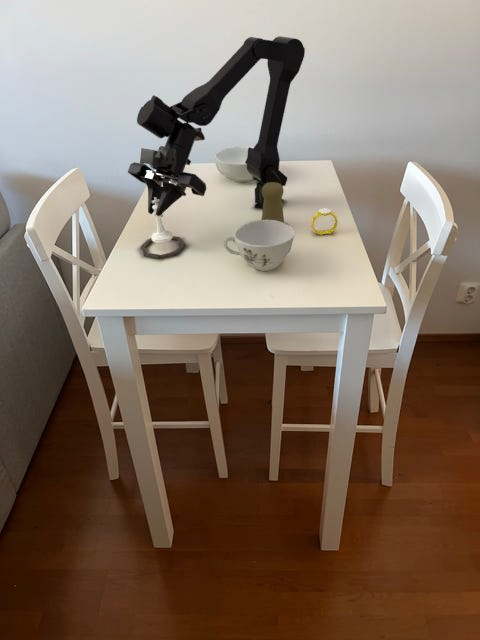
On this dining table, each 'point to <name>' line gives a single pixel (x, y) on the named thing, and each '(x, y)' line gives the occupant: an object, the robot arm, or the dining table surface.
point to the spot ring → (162, 254)
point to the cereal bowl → (233, 163)
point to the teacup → (262, 243)
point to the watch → (324, 213)
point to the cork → (272, 202)
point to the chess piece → (160, 227)
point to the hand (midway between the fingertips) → (153, 214)
